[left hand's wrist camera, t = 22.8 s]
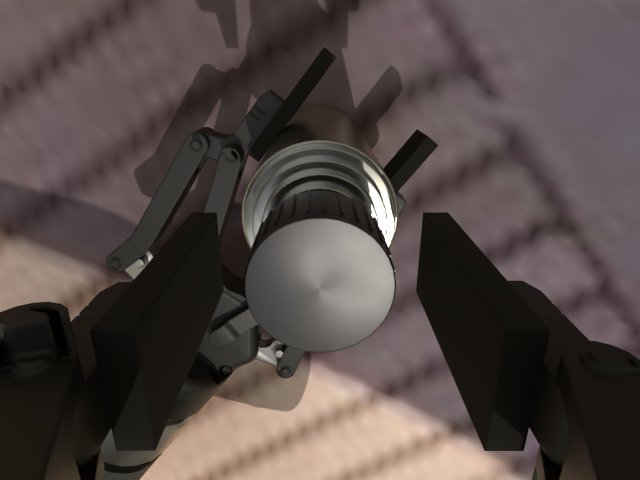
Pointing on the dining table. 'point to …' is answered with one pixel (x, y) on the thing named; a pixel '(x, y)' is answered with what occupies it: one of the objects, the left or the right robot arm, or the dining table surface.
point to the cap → (319, 273)
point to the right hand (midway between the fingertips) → (379, 97)
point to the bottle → (320, 170)
